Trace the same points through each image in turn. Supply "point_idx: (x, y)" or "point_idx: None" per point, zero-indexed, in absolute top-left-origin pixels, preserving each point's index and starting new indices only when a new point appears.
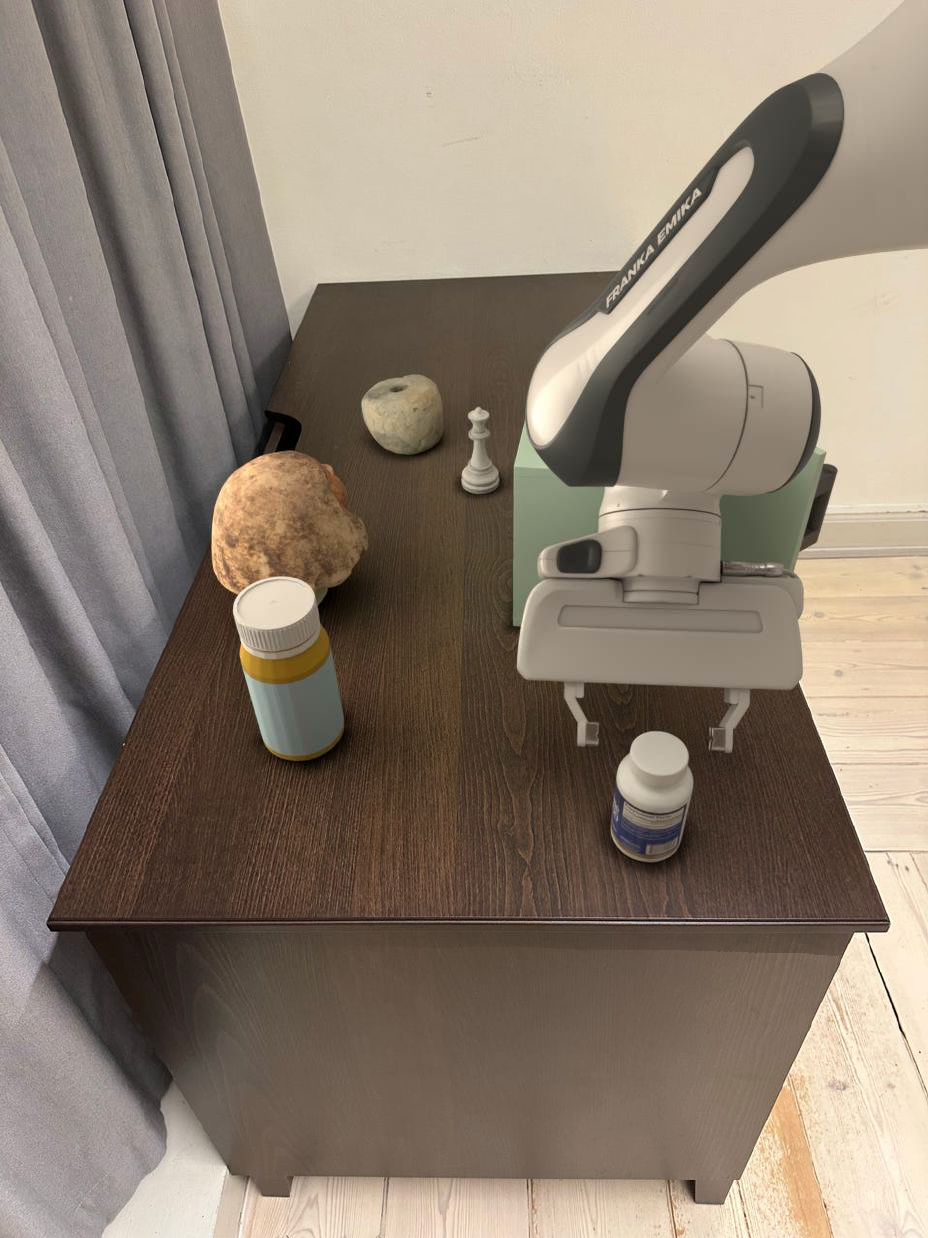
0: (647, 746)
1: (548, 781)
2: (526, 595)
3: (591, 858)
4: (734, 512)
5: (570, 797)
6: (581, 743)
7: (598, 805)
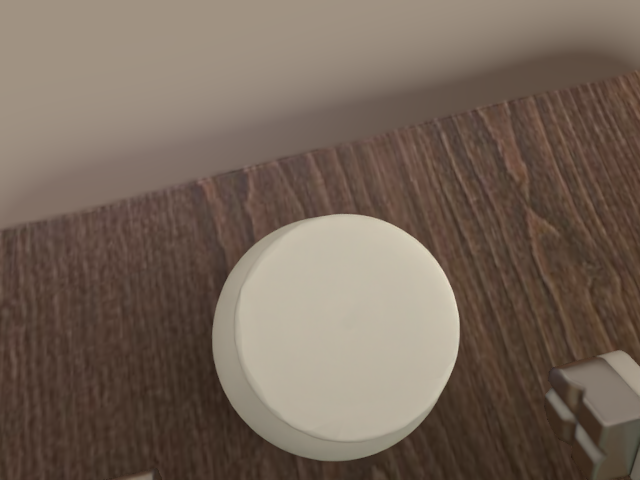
0: (399, 341)
1: None
2: None
3: None
4: None
5: (497, 400)
6: (612, 352)
7: None
